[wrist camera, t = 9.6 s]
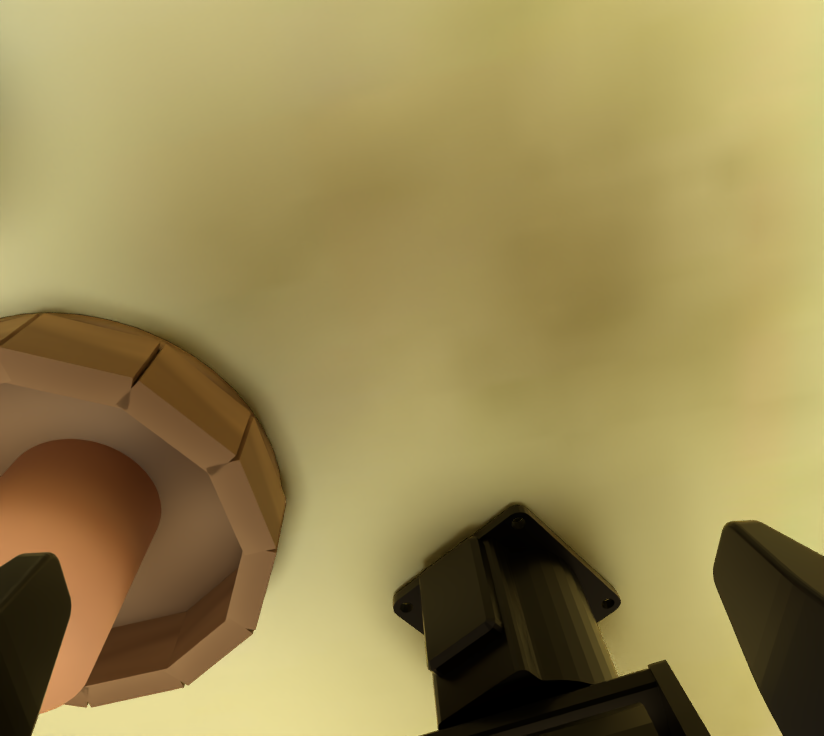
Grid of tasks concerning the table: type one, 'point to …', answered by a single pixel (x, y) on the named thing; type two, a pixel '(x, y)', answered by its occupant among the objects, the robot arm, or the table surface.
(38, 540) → the cylinder
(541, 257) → the table surface
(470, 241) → the table surface
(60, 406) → the round tray
